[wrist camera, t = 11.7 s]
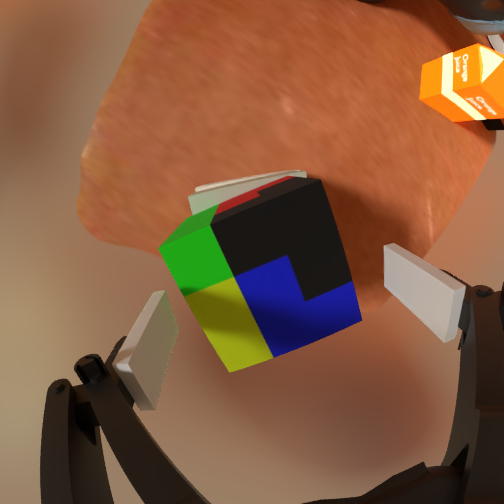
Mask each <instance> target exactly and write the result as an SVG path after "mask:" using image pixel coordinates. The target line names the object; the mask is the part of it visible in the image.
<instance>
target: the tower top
mask: <svg viewBox="0 0 504 504" xmlns="http://www.w3.org/2000/svg"><path fill="white" fill-rule="evenodd" d="M285 176H296V177H305V178H307V176H306V171H288V172H283V173H278V174H272V175H267V176H262V177H258V178H253V179H248V180H244V181H239V182H235V183H230V184H226V185H221V186H217V187H213V188H209V189H205V190H201V191H197V192H195V193H193V194H192V195H190V196H188V199H189V203H190V207H191V211H192V214H193V215H195V214H197V213H199V212H201V211H204V210H206V209H208V208H210V207H213V206H215V205H217V204H219V203H222V202H224V201H226V200H229V199H231V198H233V197H236V196H238V195H241V194H243V193H245V192H248V191H250V190H253V189H255V188H257V187H260V186H262V185H265V184H267V183H270V182H272V181H275V180H277V179H280V178H283V177H285Z"/></svg>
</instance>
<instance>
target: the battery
mask: <svg viewBox="0 0 504 504" xmlns="http://www.w3.org/2000/svg"><path fill="white" fill-rule="evenodd" d="M482 121H483V123H484V124H485V126H486V128H487V129H488V130H504V118H496V119H485V120H482Z"/></svg>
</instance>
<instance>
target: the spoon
mask: <svg viewBox="0 0 504 504" xmlns="http://www.w3.org/2000/svg"><path fill="white" fill-rule="evenodd" d="M487 36H488V39H489V41H490V43H491V45H492V46H493V48H494V49H495V51H497V52H499V53H501V54H503V55H504V42H503V40H502V39H501V38H500V36H499V35H498V34H497V35H487Z"/></svg>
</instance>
